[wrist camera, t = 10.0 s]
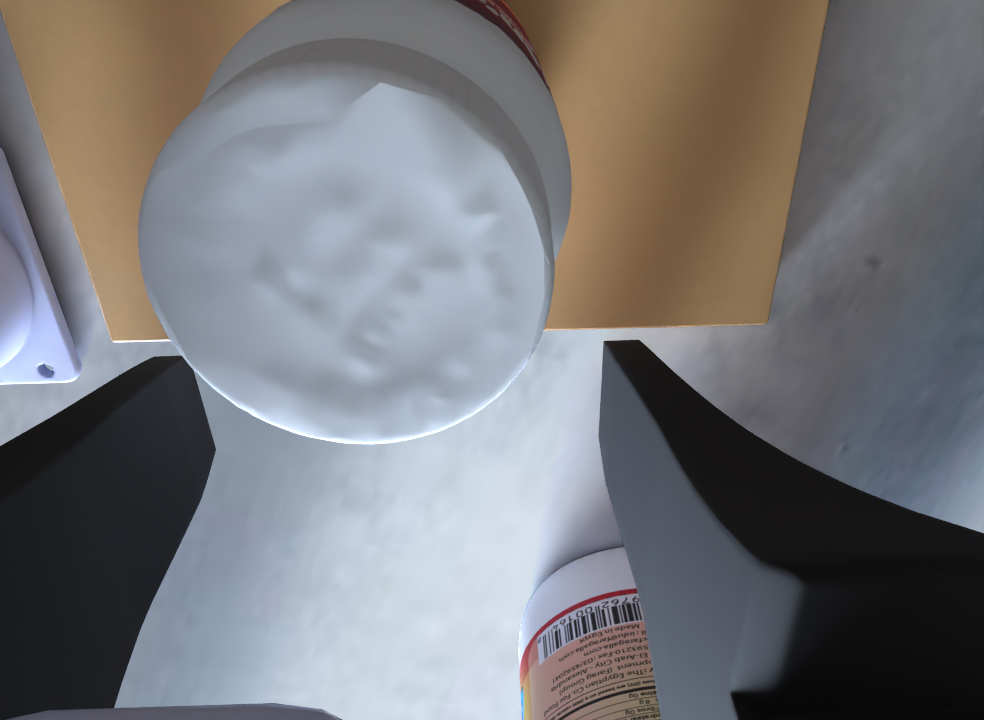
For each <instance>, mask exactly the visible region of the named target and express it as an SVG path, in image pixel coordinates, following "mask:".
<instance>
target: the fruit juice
mask: <svg viewBox="0 0 984 720" xmlns="http://www.w3.org/2000/svg"><path fill="white" fill-rule="evenodd" d="M518 650H519V670H520V689H521V708H522V720H661V716H660V710H659V704H658V698H657V692H656V686H655V680H654V674H653V668H652V662H651V657H650V651H649V646H648V640H647V635H646V629H645V624H644V618H643V613H642V609H641V604H640V600H639V596H638V592H637V588H636V585H635V581H634V578H633V575H632V571H631V568H630V565H629V561H628V558H627V554H626V551H625V548H624V547H622V548H615V549H609V550H604V551H600V552H596V553H593V554H590V555H587V556H584V557H582V558H579V559H577V560H575V561H573V562H571V563H569V564H567V565H565V566H563V567H562V568H560V569H559V570H557V571H556V572H554V573H553V574H552V575H550V576H549V577H548V578H547V579H546V580H545V581H544V582H543V583H542V584H541V585H540V586H539V587H538V588H537V589H536V591H535V592H534V593H533V595H532V596H531V598H530V600H529V602H528V603H527V606H526V608H525V610H524V614H523V617H522V620H521V625H520V633H519V644H518Z"/></svg>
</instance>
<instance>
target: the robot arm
mask: <svg viewBox="0 0 984 720" xmlns="http://www.w3.org/2000/svg"><path fill="white" fill-rule="evenodd" d="M44 364H47V365H49V366H51V367H52V368H53V370H54V371H50V370H49V369H47V368H46V367H45V365H44ZM81 371H82V364H81V361H80V359H79V356H78V353H77V350H76V348H75V345H74V342H73V340H72V337H71V334H70V331H69V329H68V326H67V323H66V321H65V318H64V315H63V312H62V310H61V307H60V304H59V301H58V299H57V296H56V293H55V291H54V288H53V285H52V282H51V280H50V277H49V274H48V271H47V269H46V266H45V263H44V261H43V258H42V255H41V252H40V250H39V247H38V244H37V241H36V239H35V236H34V233H33V231H32V228H31V225H30V222H29V220H28V217H27V214H26V212H25V209H24V206H23V203H22V201H21V198H20V195H19V192H18V190H17V187H16V184H15V182H14V179H13V176H12V173H11V171H10V168H9V165H8V162H7V160H6V157H5V154H4V152H3V150H2V148H1V147H0V384H30V383H66V382H72V381H74V380H75V379H76V378H77V377H78V376H79V375H80V374H81ZM599 442H600V449H601V456H602V462H603V469H604V475H605V481H606V486H607V489H608V493H609V497H610V500H611V503H612V507H613V510H614V514H615V517H616V521H617V524H618V527H619V531H620V534H621V538H622V541H623V544H624V548H625V551H626V554H627V558H628V561H629V565H630V568H631V571H632V575H633V578H634V581H635V585H636V588H637V592H638V596H639V600H640V604H641V609H642V613H643V618H644V624H645V629H646V635H647V640H648V646H649V651H650V657H651V662H652V668H653V674H654V680H655V686H656V692H657V698H658V704H659V710H660V716H661V720H984V533H981V532H978V531H975V530H971V529H968V528H965V527H962V526H959V525H956V524H952V523H949V522H946V521H943V520H940V519H937V518H933V517H930V516H927V515H924V514H921V513H917V512H915V511H912V510H909V509H906V508H904V507H901V506H899V505H896V504H894V503H891V502H888V501H886V500H883V499H881V498H878V497H876V496H873V495H870V494H868V493H866V492H863V491H861V490H859V489H856V488H854V487H852V486H849V485H847V484H845V483H843V482H840V481H838V480H836V479H834V478H832V477H830V476H828V475H826V474H824V473H822V472H820V471H818V470H816V469H814V468H812V467H810V466H808V465H806V464H804V463H802V462H800V461H798V460H797V459H795V458H793V457H791V456H789V455H787V454H786V453H784V452H782V451H781V450H779V449H777V448H776V447H774V446H772V445H771V444H769V443H767V442H766V441H764V440H763V439H761V438H759V437H758V436H756V435H754V434H753V433H751V432H750V431H748V430H747V429H745V428H744V427H742V426H741V425H740V424H738V423H737V422H736V421H734V420H733V419H731V418H730V417H729V416H727V415H726V414H725V413H723V412H722V411H721V410H719V409H718V408H716V407H715V406H714V405H713V404H711V403H710V402H709V401H708V400H706V399H705V398H704V397H703V396H701V395H700V394H699V393H698V392H697V391H695V390H694V389H693V388H692V387H691V386H690V385H688V384H687V383H686V382H685V381H684V380H683V379H681V378H680V377H679V376H678V375H677V374H676V373H675V372H674V371H673V370H671V369H670V368H669V367H668V366H667V365H666V364H665V363H664V362H663V361H662V360H661V359H659V358H658V357H657V356H656V355H655V354H654V353H653V352H652V351H651V350H650V349H649V348H648V347H647V346H645V345H644V344H643V343H642V342H641V341H640V340H622V341H604V346H603V365H602V384H601V403H600V422H599ZM215 451H216V448H215V444H214V441H213V437H212V434H211V430H210V427H209V423H208V420H207V416H206V413H205V409H204V406H203V402H202V399H201V395H200V392H199V388H198V385H197V381H196V378H195V374H194V371H193V368H192V367H191V366H190V365H189V364H188V363H187V362H186V360H185V359H184V358H183V356H159V357H153V358H150V359H148V360H146V361H144V362H142V363H140V364H138V365H136V366H135V367H133V368H131V369H129V370H128V371H126V372H124V373H123V374H121V375H119V376H118V377H116V378H114V379H113V380H111V381H109V382H108V383H106V384H104V385H103V386H101V387H100V388H98V389H96V390H95V391H93V392H92V393H90V394H88V395H87V396H85V397H83V398H82V399H80V400H79V401H77V402H75V403H74V404H72V405H70V406H69V407H67V408H65V409H64V410H62V411H61V412H59V413H57V414H56V415H54V416H52V417H50V418H49V419H47V420H45V421H43V422H42V423H40V424H38V425H36V426H35V427H33V428H31V429H29V430H28V431H26V432H24V433H22V434H21V435H19V436H17V437H15V438H14V439H12V440H10V441H8V442H7V443H5V444H3V445H1V446H0V720H342V719H340V718H338V717H336V716H334V715H332V714H330V713H328V712H326V711H324V710H322V709H315V708H307V707H300V706H292V705H284V704H276V703H265V704H233V705H202V706H170V707H139V708H114V706H115V703H116V700H117V696H118V693H119V690H120V687H121V684H122V681H123V678H124V675H125V672H126V669H127V666H128V663H129V660H130V658H131V655H132V652H133V649H134V646H135V643H136V640H137V637H138V635H139V632H140V629H141V627H142V624H143V622H144V620H145V617H146V615H147V612H148V610H149V608H150V605H151V603H152V601H153V599H154V597H155V595H156V593H157V591H158V589H159V587H160V585H161V582H162V580H163V578H164V576H165V574H166V572H167V570H168V568H169V566H170V564H171V562H172V560H173V558H174V556H175V553H176V551H177V549H178V547H179V545H180V543H181V541H182V539H183V537H184V535H185V533H186V531H187V528H188V526H189V524H190V522H191V520H192V518H193V516H194V513H195V511H196V509H197V507H198V505H199V502H200V500H201V498H202V495H203V492H204V489H205V486H206V483H207V479H208V476H209V473H210V469H211V465H212V462H213V458H214V455H215Z"/></svg>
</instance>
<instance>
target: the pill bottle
mask: <svg viewBox="0 0 984 720" xmlns="http://www.w3.org/2000/svg"><path fill="white" fill-rule="evenodd" d="M571 193H572V177H571V165H570V157H569V151H568V146H567V142H566V137H565V134H564V130H563V127H562V123H561V120H560V117H559V113H558V110H557V107H556V105H555V102H554V100H553V97H552V94H551V91H550V88H549V86H548V84H547V82H546V79H545V75H544V72H543V70H542V68H541V65H540V63H539V60H538V57H537V55H536V52H535V49H534V47H533V45H532V43H531V41H530V39H529V37H528V35H527V33H526V31H525V29H524V27H523V26H522V24H521V22H520V21H519V19H518V18H517V17H516V15H515V14H514V13H513V11H512V10H511V9H510V8H509V7H508V5H507V4H506V3H505V2H504V1H503V0H292V1H289V2H287V3H285V4H283V5H282V6H280V7H278V8H277V9H276V10H274V11H273V12H272V13H271V14H270V15H269V16H267V17H266V18H264V19H263V20H261V21H260V22H259V23H258V24H257V25H255V26H254V27H253V28H252V29H251V30H249V31H248V32H247V33H246V34H245V35H244V36H243V37H242V38H241V39H240V40H239V41H238V42H237V43H236V44H235V45H234V47H233V48H232V49H231V50H230V51H229V52H228V54H227V55H226V56H225V58H224V59H223V60H222V62H221V63H220V65H219V66H218V68H217V70H216V71H215V73H214V74H213V76H212V78H211V80H210V82H209V84H208V86H207V88H206V90H205V92H204V95H203V97H202V100H201V102H200V104H199V105H198V106H197V107H196V108H195V109H194V110H193V111H192V112H191V113H190V114H189V115H188V116H187V117H186V118H185V119H183V120H182V122H181V123H180V124H179V125H178V126H177V127H176V128H175V130H174V131H173V133H172V134H171V136H170V137H169V139H168V140H167V141H166V143H165V145H164V146H163V148H162V149H161V151H160V153H159V154H158V156H157V158H156V161H155V163H154V165H153V167H152V169H151V171H150V174H149V177H148V180H147V182H146V186H145V189H144V193H143V197H142V201H141V206H140V213H139V221H138V248H139V258H140V266H141V272H142V276H143V280H144V284H145V287H146V291H147V294H148V298H149V300H150V303H151V305H152V307H153V309H154V312H155V314H156V316H157V318H158V320H159V321H160V323H161V325H162V327H163V329H164V330H165V332H166V334H167V336H168V337H169V339H170V340H171V342H172V343H173V345H174V346H175V348H176V349H177V350H178V351H179V353H180V354H181V355H182V356H183V358H184V359H185V360H186V362H187V363H188V364H189V365H190V366H191V367H192V368H193V369H194V370H195V371H196V372H197V373H198V374H199V375H200V376H201V377H202V378H203V379H204V380H205V381H206V382H207V383H208V384H209V385H210V386H211V387H212V388H213V389H215V390H216V391H217V392H219V393H220V394H221V395H223V396H224V397H225V398H227V399H228V400H230V401H231V402H232V403H234V404H235V405H236V406H238V407H239V408H241V409H243V410H245V411H247V412H249V413H250V414H252V415H253V416H255V417H257V418H259V419H261V420H263V421H266V422H268V423H270V424H272V425H275V426H277V427H280V428H282V429H285V430H288V431H291V432H293V433H297V434H300V435H304V436H308V437H311V438H317V439H323V440H328V441H334V442H340V443H350V444H380V443H393V442H399V441H404V440H410V439H414V438H418V437H422V436H426V435H429V434H433V433H435V432H438V431H441V430H444V429H446V428H448V427H451V426H453V425H455V424H457V423H459V422H461V421H463V420H464V419H466V418H468V417H471V416H472V415H473V414H475V413H476V412H478V411H479V410H481V409H483V408H484V407H485V406H487V405H488V404H489V403H491V402H492V401H494V400H495V399H496V398H497V397H498V396H499V395H500V394H501V393H502V392H503V391H504V390H505V389H506V388H507V387H508V386H509V384H510V383H511V382H512V381H513V380H514V379H515V378H516V376H517V375H518V374H519V373H520V371H521V370H522V369H523V367H524V366H525V364H526V363H527V361H528V360H529V358H530V357H531V355H532V353H533V351H534V349H535V347H536V346H537V344H538V342H539V340H540V337H541V335H542V333H543V331H544V328H545V324H546V321H547V318H548V316H549V311H550V306H551V301H552V294H553V288H554V276H555V260H556V258H557V256H558V253H559V251H560V248H561V245H562V242H563V239H564V236H565V232H566V229H567V225H568V220H569V215H570V208H571Z"/></svg>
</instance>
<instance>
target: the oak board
mask: <svg viewBox="0 0 984 720" xmlns="http://www.w3.org/2000/svg"><path fill="white" fill-rule="evenodd" d="M289 1H292V0H0V10H1V13H2V16H3V19H4V22H5V25H6V27H7V30H8V33H9V36H10V39H11V42H12V45H13V48H14V51H15V54H16V57H17V60H18V63H19V66H20V69H21V72H22V75H23V78H24V81H25V84H26V87H27V90H28V93H29V96H30V99H31V102H32V105H33V108H34V111H35V114H36V117H37V120H38V123H39V126H40V129H41V132H42V135H43V138H44V141H45V144H46V147H47V150H48V153H49V156H50V159H51V162H52V165H53V168H54V170H55V173H56V176H57V179H58V182H59V185H60V188H61V191H62V194H63V197H64V200H65V203H66V206H67V209H68V212H69V215H70V218H71V221H72V224H73V227H74V230H75V233H76V236H77V239H78V242H79V245H80V248H81V251H82V254H83V257H84V260H85V263H86V266H87V269H88V272H89V275H90V278H91V281H92V284H93V287H94V290H95V293H96V296H97V299H98V302H99V305H100V308H101V311H102V313H103V316H104V319H105V322H106V325H107V328H108V331H109V334H110V337H111V340H112V342H144V341H171V340H170V339H169V337H168V336H167V334H166V332H165V330H164V329H163V327H162V325H161V323H160V321H159V320H158V318H157V316H156V314H155V312H154V309H153V307H152V305H151V303H150V300H149V298H148V294H147V291H146V287H145V284H144V280H143V276H142V272H141V266H140V258H139V248H138V221H139V213H140V206H141V201H142V197H143V193H144V189H145V186H146V182H147V180H148V177H149V174H150V171H151V169H152V167H153V165H154V163H155V161H156V158H157V156H158V154H159V153H160V151H161V149H162V148H163V146H164V145H165V143H166V141H167V140H168V139H169V137H170V136H171V134H172V133H173V131H174V130H175V128H176V127H177V126H178V125H179V124H180V123H181V122H182V120H183V119H185V118H186V117H187V116H188V115H189V114H190V113H191V112H192V111H193V110H194V109H195V108H196V107H197V106H198V105H199V104H200V102H201V100H202V97H203V95H204V92H205V90H206V88H207V86H208V84H209V82H210V80H211V78H212V76H213V74H214V73H215V71H216V70H217V68H218V66H219V65H220V63H221V62H222V60H223V59H224V58H225V56H226V55H227V54H228V52H229V51H230V50H231V49H232V48H233V47H234V45H235V44H236V43H237V42H238V41H239V40H240V39H241V38H242V37H243V36H244V35H245V34H246V33H247V32H248V31H249V30H251V29H252V28H253V27H254V26H255V25H257V24H258V23H259V22H260V21H261V20H263V19H264V18H266V17H267V16H269V15H270V14H271V13H272V12H273V11H274V10H276V9H277V8H278V7H280V6H282V5H283V4H285V3H287V2H289ZM503 1H504V2H505V3H506V4H507V5H508V7H509V8H510V9H511V10H512V11H513V13H514V14H515V15H516V17H517V18H518V19H519V21H520V22H521V24H522V26H523V27H524V29H525V31H526V33H527V35H528V37H529V39H530V41H531V43H532V45H533V47H534V49H535V52H536V55H537V57H538V60H539V63H540V65H541V68H542V70H543V72H544V75H545V79H546V82H547V84H548V86H549V88H550V91H551V94H552V97H553V100H554V102H555V105H556V107H557V110H558V113H559V117H560V120H561V123H562V127H563V130H564V134H565V137H566V142H567V146H568V151H569V157H570V165H571V177H572V193H571V208H570V215H569V220H568V225H567V229H566V232H565V236H564V239H563V242H562V245H561V248H560V251H559V253H558V256H557V258H556V260H555V276H554V288H553V294H552V301H551V306H550V311H549V316H548V318H547V321H546V324H545V328H544V330H580V329H616V328H652V327H689V326H725V325H761V324H767V323H768V320H769V314H770V309H771V304H772V299H773V294H774V288H775V283H776V278H777V273H778V267H779V262H780V257H781V252H782V247H783V241H784V236H785V231H786V226H787V221H788V215H789V210H790V205H791V200H792V194H793V189H794V184H795V179H796V174H797V168H798V163H799V158H800V153H801V148H802V142H803V137H804V132H805V127H806V122H807V116H808V111H809V106H810V101H811V95H812V90H813V85H814V80H815V75H816V69H817V64H818V59H819V54H820V49H821V43H822V38H823V33H824V28H825V22H826V17H827V12H828V7H829V2H830V0H503Z"/></svg>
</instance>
